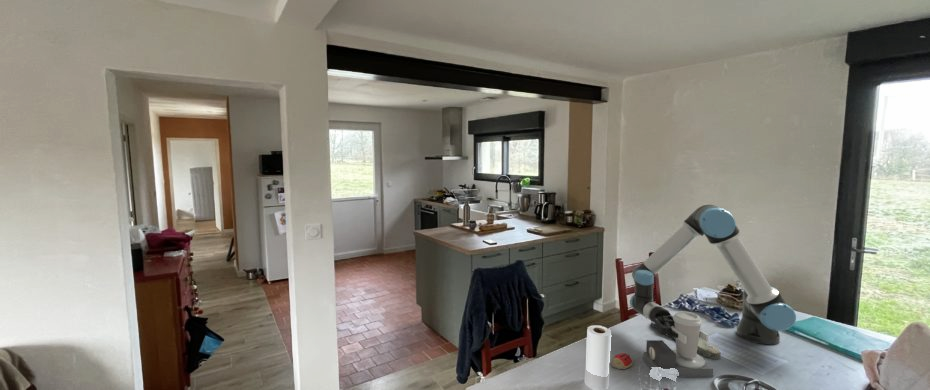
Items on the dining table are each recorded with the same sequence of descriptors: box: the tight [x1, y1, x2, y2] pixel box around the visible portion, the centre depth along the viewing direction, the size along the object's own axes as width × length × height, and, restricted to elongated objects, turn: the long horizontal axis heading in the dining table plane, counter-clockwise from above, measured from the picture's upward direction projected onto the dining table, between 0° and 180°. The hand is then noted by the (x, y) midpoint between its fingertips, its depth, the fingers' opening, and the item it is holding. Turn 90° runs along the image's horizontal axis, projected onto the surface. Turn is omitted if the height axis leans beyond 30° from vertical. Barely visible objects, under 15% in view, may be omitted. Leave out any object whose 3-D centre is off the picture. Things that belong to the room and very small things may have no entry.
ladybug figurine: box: [611, 352, 634, 370], centre depth 148 cm, size 7×10×4 cm
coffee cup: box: [672, 310, 703, 358], centre depth 143 cm, size 10×10×15 cm
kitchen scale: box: [642, 339, 714, 378], centre depth 144 cm, size 20×12×8 cm, turn 88°
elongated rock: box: [665, 326, 722, 360], centre depth 167 cm, size 35×5×10 cm
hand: (696, 339), depth 139 cm, fingers closed on coffee cup, 8 cm apart
